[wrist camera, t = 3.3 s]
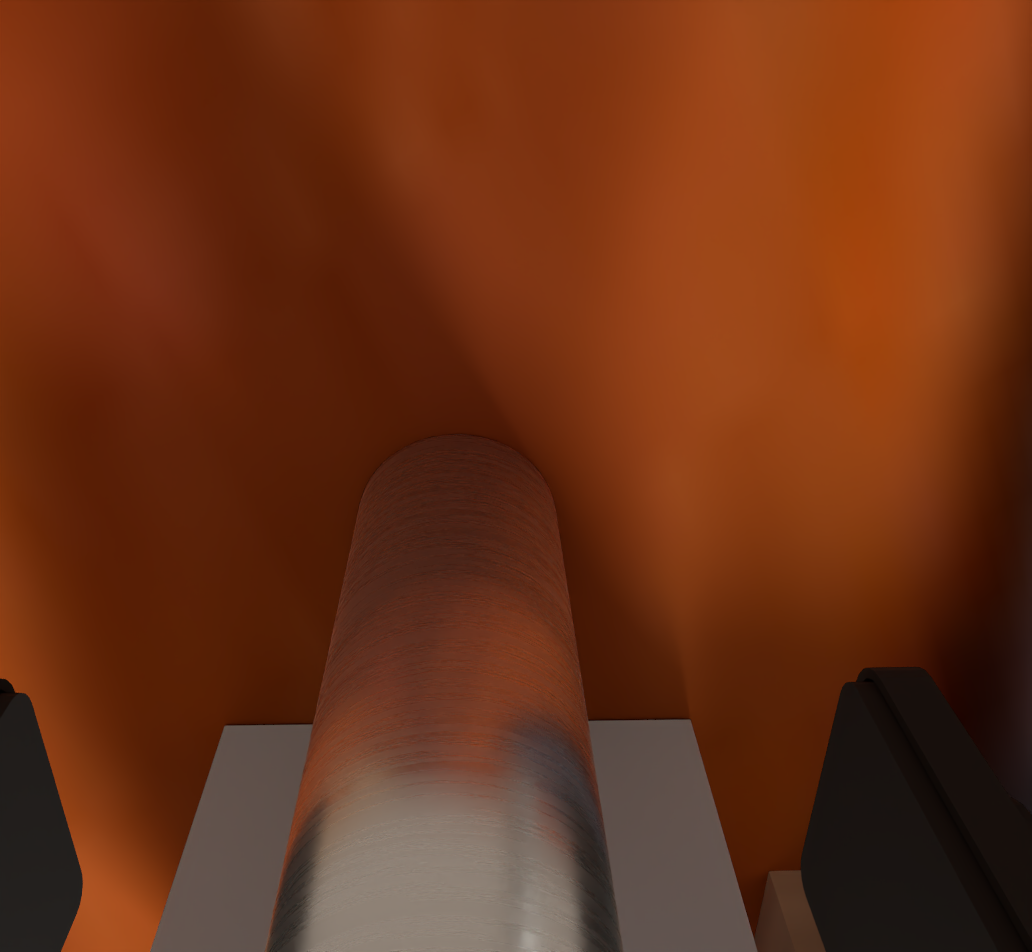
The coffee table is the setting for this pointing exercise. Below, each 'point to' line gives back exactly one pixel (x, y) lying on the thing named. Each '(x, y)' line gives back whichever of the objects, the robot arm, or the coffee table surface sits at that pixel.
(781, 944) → the walnut block
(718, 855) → the bore block
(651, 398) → the coffee table surface
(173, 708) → the coffee table surface
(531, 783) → the pin
